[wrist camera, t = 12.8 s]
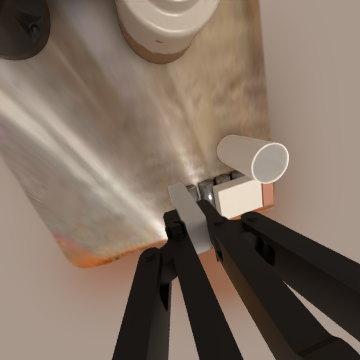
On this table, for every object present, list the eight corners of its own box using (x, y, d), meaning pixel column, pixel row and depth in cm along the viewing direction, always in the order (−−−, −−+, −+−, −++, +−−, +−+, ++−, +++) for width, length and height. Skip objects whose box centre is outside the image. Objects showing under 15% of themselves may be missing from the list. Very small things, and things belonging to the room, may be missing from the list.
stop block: (249, 195, 55) (263, 205, 49) (246, 166, 51) (262, 173, 45) (257, 192, 56) (273, 202, 49) (255, 163, 52) (272, 170, 45)
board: (217, 214, 50) (223, 220, 47) (212, 186, 46) (218, 191, 43) (254, 200, 51) (262, 206, 48) (252, 173, 48) (260, 177, 44)
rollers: (188, 216, 53) (192, 224, 49) (180, 188, 49) (184, 194, 45) (244, 197, 55) (251, 202, 51) (241, 168, 51) (249, 172, 47)
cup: (211, 157, 48) (244, 175, 33) (226, 129, 46) (267, 135, 31) (234, 168, 51) (273, 189, 36) (248, 142, 49) (296, 153, 34)
